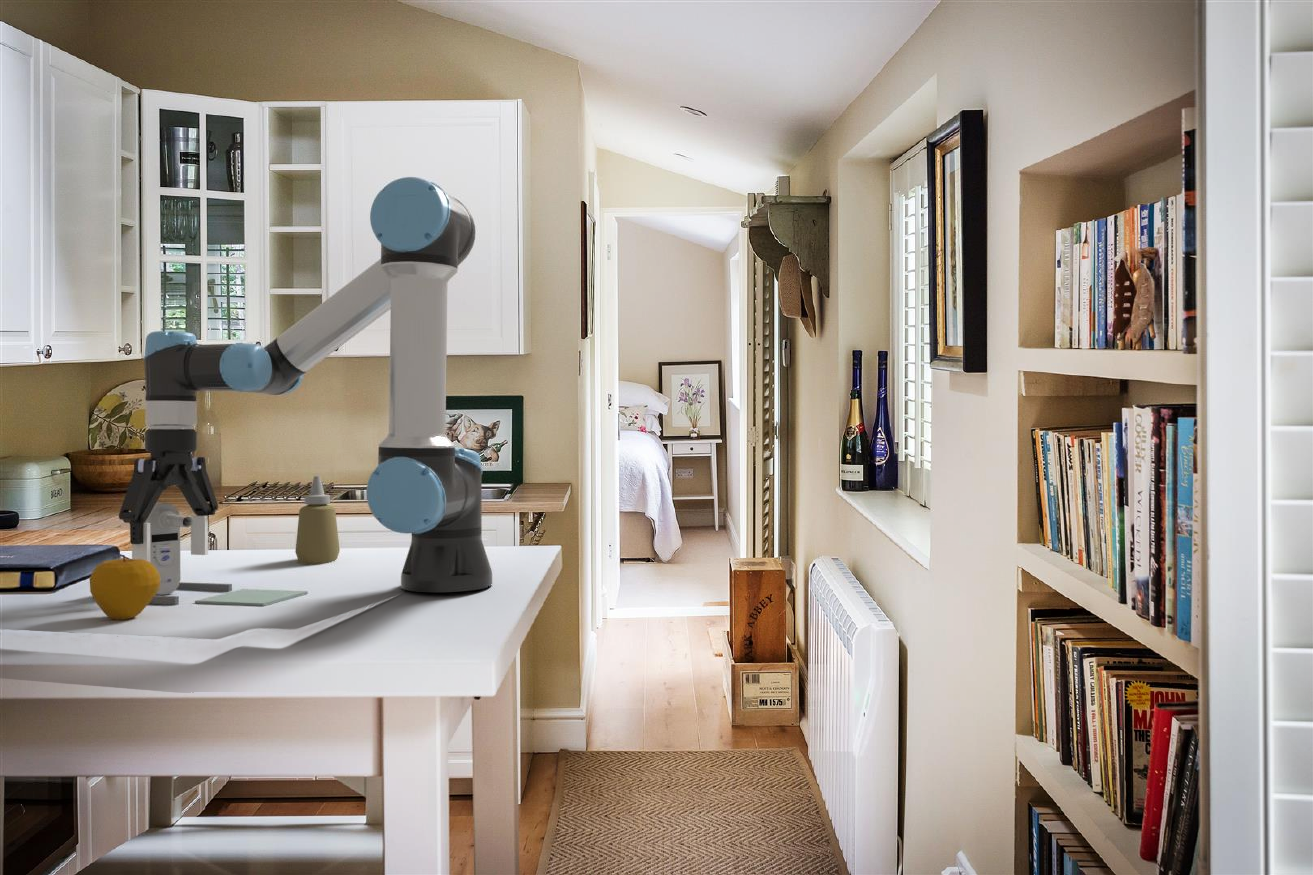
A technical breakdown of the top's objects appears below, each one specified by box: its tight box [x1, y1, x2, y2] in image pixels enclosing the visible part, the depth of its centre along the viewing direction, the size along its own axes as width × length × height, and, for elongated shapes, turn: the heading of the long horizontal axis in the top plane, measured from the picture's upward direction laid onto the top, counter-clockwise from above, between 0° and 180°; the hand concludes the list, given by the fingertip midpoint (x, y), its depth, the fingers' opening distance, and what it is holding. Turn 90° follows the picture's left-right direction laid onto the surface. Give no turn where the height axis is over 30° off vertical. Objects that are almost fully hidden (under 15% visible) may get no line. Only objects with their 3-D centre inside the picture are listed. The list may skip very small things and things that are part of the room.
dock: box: [92, 581, 233, 606], centre depth 167 cm, size 17×19×4 cm
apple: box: [89, 555, 161, 621], centre depth 145 cm, size 9×9×9 cm
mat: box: [194, 588, 309, 607], centre depth 161 cm, size 12×12×1 cm
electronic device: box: [145, 502, 193, 596], centre depth 164 cm, size 5×10×15 cm, turn 52°
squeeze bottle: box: [294, 475, 341, 565], centre depth 194 cm, size 8×8×18 cm
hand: (171, 559), depth 164 cm, fingers open, 13 cm apart
